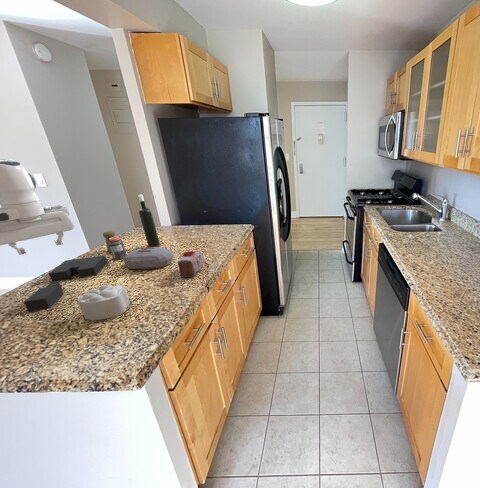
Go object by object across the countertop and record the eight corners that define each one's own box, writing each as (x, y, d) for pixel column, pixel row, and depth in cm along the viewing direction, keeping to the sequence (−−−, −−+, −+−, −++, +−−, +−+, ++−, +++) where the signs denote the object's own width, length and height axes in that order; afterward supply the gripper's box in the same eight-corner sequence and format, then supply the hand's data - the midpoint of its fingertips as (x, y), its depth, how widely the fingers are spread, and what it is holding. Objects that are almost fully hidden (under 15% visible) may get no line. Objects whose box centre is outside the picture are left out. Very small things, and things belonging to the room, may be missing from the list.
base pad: (52, 281, 114) (48, 273, 113) (68, 267, 126) (65, 260, 125) (96, 275, 119) (93, 267, 118) (107, 262, 132) (105, 255, 130)
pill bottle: (118, 255, 140) (111, 235, 135) (129, 254, 140) (123, 235, 136) (110, 260, 134) (103, 240, 130) (123, 259, 135) (116, 239, 130)
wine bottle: (153, 247, 149) (139, 196, 138) (146, 246, 151) (131, 195, 140) (162, 244, 154) (148, 194, 143) (155, 243, 156) (141, 193, 145)
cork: (119, 246, 151) (114, 228, 147) (121, 249, 147) (115, 231, 143) (106, 249, 147) (100, 231, 143) (108, 252, 143) (101, 234, 139)
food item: (189, 264, 129) (185, 246, 125) (206, 263, 130) (202, 245, 126) (179, 278, 116) (174, 258, 113) (197, 277, 118) (193, 257, 114)
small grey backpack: (122, 272, 122) (166, 270, 124) (116, 256, 119) (162, 254, 121) (140, 258, 136) (180, 256, 138) (136, 243, 133) (176, 242, 134)
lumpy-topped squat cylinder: (122, 315, 92) (114, 295, 89) (77, 323, 88) (67, 302, 85) (132, 299, 101) (125, 280, 98) (92, 306, 97) (84, 286, 94)
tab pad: (28, 311, 95) (23, 301, 93) (49, 292, 106) (45, 284, 104) (49, 307, 97) (44, 298, 95) (67, 289, 108) (63, 281, 106)
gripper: (62, 203, 95) (76, 238, 101) (-26, 216, 79) (-5, 257, 84) (69, 205, 92) (82, 241, 98) (-22, 219, 76) (0, 261, 81)
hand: (41, 249), depth 91 cm, fingers open, 8 cm apart
